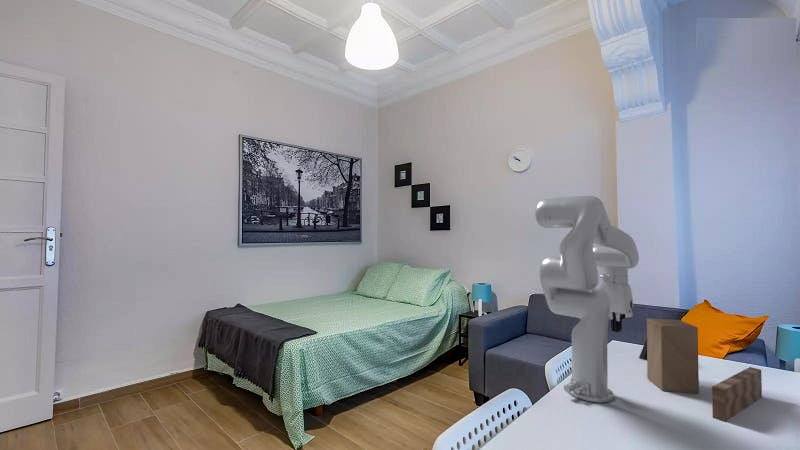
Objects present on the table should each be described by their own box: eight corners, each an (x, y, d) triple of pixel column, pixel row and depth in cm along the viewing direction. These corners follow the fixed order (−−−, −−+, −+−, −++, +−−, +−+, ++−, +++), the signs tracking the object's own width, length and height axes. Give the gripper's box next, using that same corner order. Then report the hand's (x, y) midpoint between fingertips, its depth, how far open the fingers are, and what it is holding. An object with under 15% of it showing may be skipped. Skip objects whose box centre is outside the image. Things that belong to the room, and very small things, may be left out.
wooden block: (699, 394, 108) (698, 327, 109) (662, 391, 110) (661, 325, 111) (681, 381, 118) (680, 319, 119) (646, 378, 120) (646, 317, 121)
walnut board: (724, 421, 92) (724, 389, 92) (712, 417, 94) (712, 386, 95) (761, 397, 107) (761, 369, 107) (750, 393, 109) (749, 367, 109)
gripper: (589, 278, 134) (590, 328, 134) (632, 283, 121) (633, 338, 121) (600, 276, 138) (601, 325, 138) (643, 281, 125) (644, 334, 125)
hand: (616, 331), depth 130 cm, fingers closed
